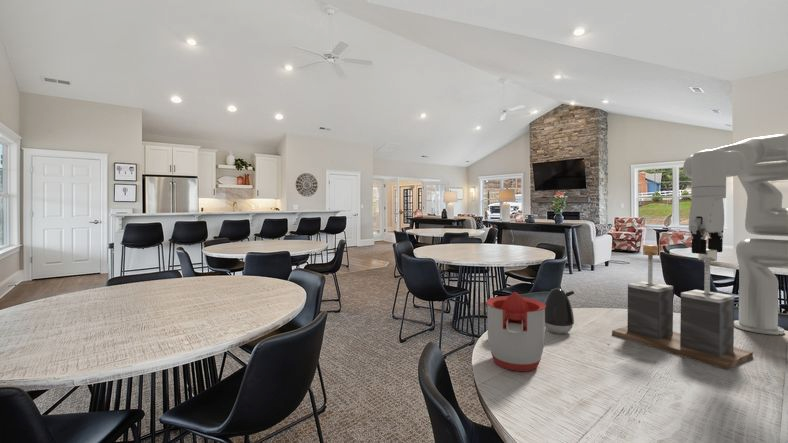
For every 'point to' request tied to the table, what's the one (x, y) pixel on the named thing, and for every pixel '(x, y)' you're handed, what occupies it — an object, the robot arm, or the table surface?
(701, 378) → the table surface
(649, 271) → the copper plunger
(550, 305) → the pump dispenser
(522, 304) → the citrus juicer
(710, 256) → the ivory plunger
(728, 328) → the press station
